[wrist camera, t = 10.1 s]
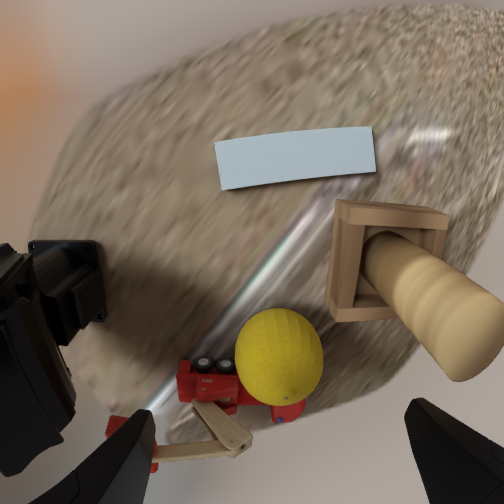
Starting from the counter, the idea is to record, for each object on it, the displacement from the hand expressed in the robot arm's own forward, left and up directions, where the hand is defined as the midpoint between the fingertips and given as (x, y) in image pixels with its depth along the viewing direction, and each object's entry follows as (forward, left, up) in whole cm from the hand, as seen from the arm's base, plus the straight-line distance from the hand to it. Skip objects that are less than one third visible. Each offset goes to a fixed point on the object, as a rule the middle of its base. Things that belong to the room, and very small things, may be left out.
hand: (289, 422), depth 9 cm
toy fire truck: (-3, -9, -13) cm, 16 cm away
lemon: (+1, -4, -13) cm, 14 cm away
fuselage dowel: (+8, +2, -12) cm, 15 cm away
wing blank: (+2, +8, -13) cm, 15 cm away
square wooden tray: (+8, +2, -13) cm, 16 cm away
